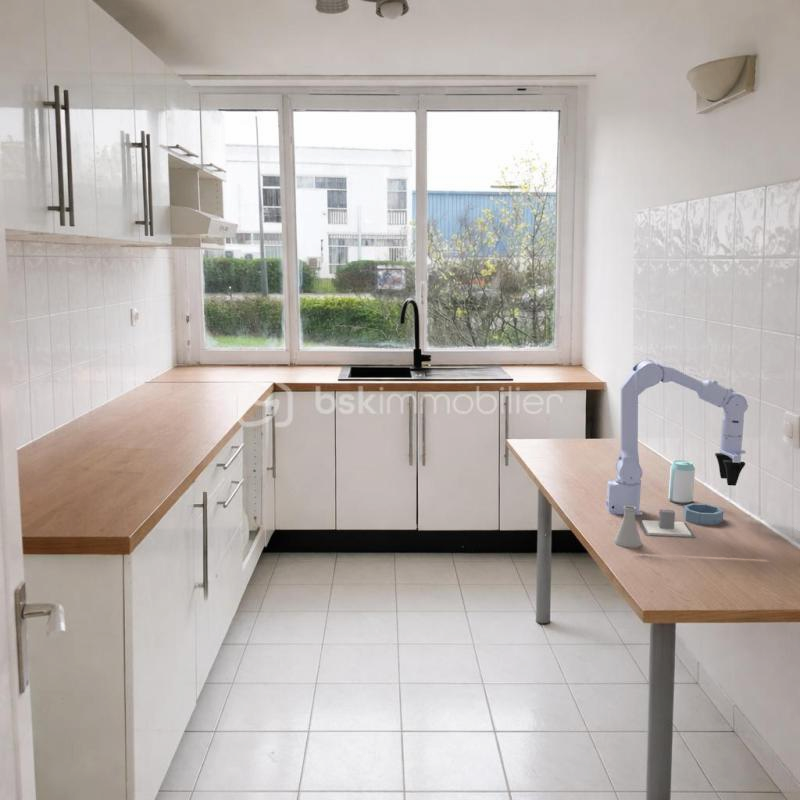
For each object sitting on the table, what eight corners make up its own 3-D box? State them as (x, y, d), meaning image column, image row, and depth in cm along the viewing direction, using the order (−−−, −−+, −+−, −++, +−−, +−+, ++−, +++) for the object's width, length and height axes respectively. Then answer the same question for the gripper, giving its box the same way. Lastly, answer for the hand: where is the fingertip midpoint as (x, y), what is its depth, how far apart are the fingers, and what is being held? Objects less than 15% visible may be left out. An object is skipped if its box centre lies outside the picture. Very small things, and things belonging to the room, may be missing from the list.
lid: (648, 534, 236) (649, 516, 235) (641, 522, 246) (642, 504, 245) (691, 536, 234) (692, 517, 234) (682, 524, 245) (683, 506, 244)
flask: (640, 551, 224) (643, 512, 223) (611, 547, 227) (613, 509, 225) (643, 542, 231) (645, 505, 229) (615, 539, 234) (617, 502, 232)
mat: (645, 537, 235) (645, 535, 235) (637, 522, 248) (637, 521, 247) (696, 539, 233) (696, 538, 233) (685, 524, 246) (685, 523, 246)
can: (683, 497, 274) (686, 459, 272) (697, 503, 268) (700, 464, 265) (663, 498, 272) (666, 460, 270) (677, 505, 265) (680, 465, 263)
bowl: (687, 525, 246) (688, 513, 245) (680, 514, 255) (681, 503, 255) (725, 527, 245) (726, 514, 244) (716, 516, 255) (717, 504, 254)
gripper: (753, 440, 244) (749, 488, 246) (739, 430, 258) (735, 475, 260) (727, 439, 244) (723, 487, 247) (714, 429, 258) (710, 474, 261)
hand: (728, 481), depth 253 cm, fingers open, 7 cm apart
